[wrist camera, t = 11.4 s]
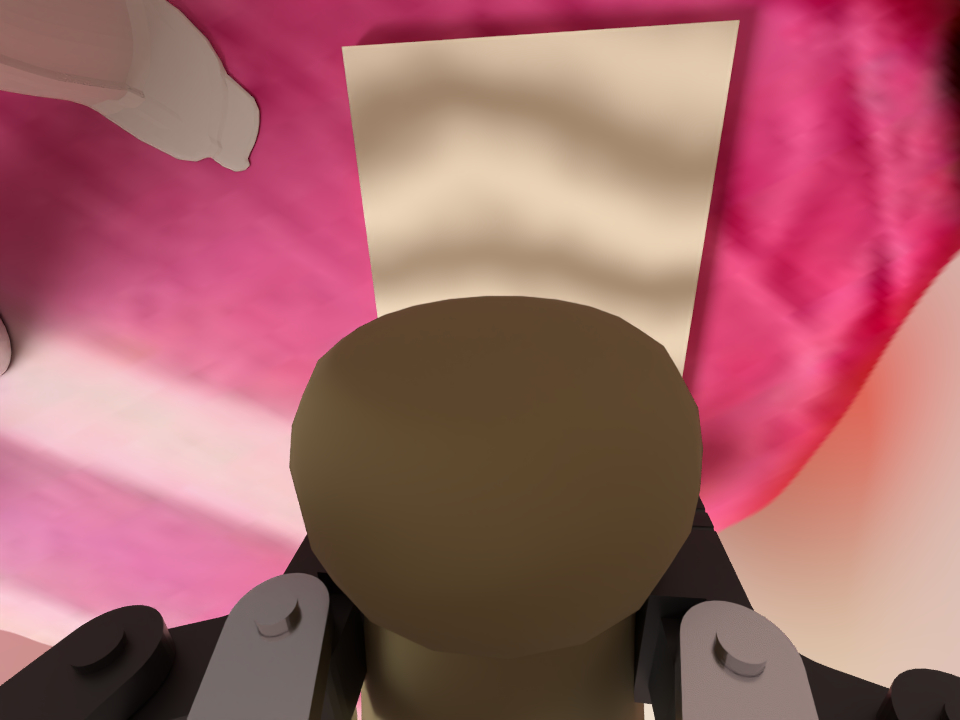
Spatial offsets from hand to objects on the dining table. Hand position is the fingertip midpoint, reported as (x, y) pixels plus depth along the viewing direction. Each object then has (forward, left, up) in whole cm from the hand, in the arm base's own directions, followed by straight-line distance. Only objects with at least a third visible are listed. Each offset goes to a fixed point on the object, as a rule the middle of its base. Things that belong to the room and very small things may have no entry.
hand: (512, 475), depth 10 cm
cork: (+4, -5, +3) cm, 7 cm away
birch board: (0, 0, -19) cm, 19 cm away
